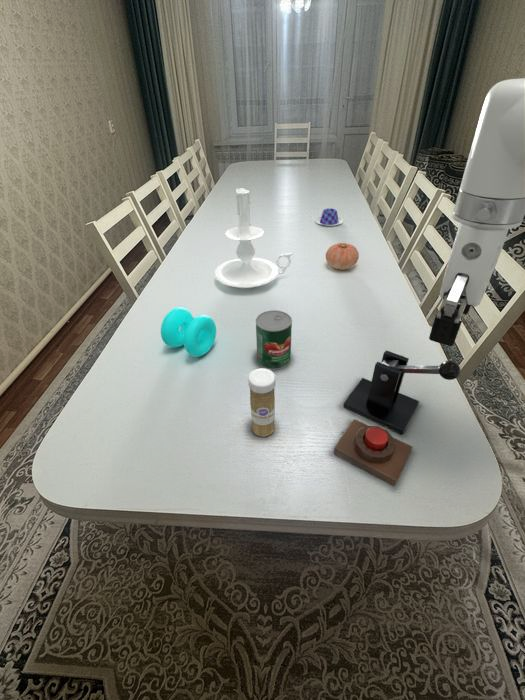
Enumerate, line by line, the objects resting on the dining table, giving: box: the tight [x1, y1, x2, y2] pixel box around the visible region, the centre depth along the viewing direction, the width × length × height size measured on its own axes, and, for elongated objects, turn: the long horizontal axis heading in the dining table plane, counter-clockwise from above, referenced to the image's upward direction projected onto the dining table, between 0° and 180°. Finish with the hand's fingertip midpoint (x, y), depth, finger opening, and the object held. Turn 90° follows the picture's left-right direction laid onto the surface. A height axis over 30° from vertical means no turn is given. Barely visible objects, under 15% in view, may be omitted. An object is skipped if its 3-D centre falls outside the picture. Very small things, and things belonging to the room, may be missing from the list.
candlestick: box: [213, 187, 293, 289], centre depth 107 cm, size 21×25×28 cm
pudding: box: [314, 208, 344, 227], centre depth 154 cm, size 12×12×5 cm
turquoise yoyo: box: [160, 306, 217, 358], centre depth 85 cm, size 10×10×10 cm
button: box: [364, 427, 388, 451], centre depth 61 cm, size 4×4×2 cm
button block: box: [333, 418, 413, 487], centre depth 62 cm, size 11×8×4 cm
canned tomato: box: [255, 310, 293, 371], centre depth 81 cm, size 8×8×11 cm
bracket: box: [343, 349, 420, 435], centre depth 68 cm, size 12×9×12 cm
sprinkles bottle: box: [248, 367, 276, 438], centre depth 64 cm, size 5×5×14 cm
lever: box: [381, 359, 461, 381], centre depth 62 cm, size 13×3×3 cm, turn 54°
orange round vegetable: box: [325, 242, 360, 271], centre depth 119 cm, size 11×11×8 cm
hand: (449, 325), depth 53 cm, fingers open, 9 cm apart
